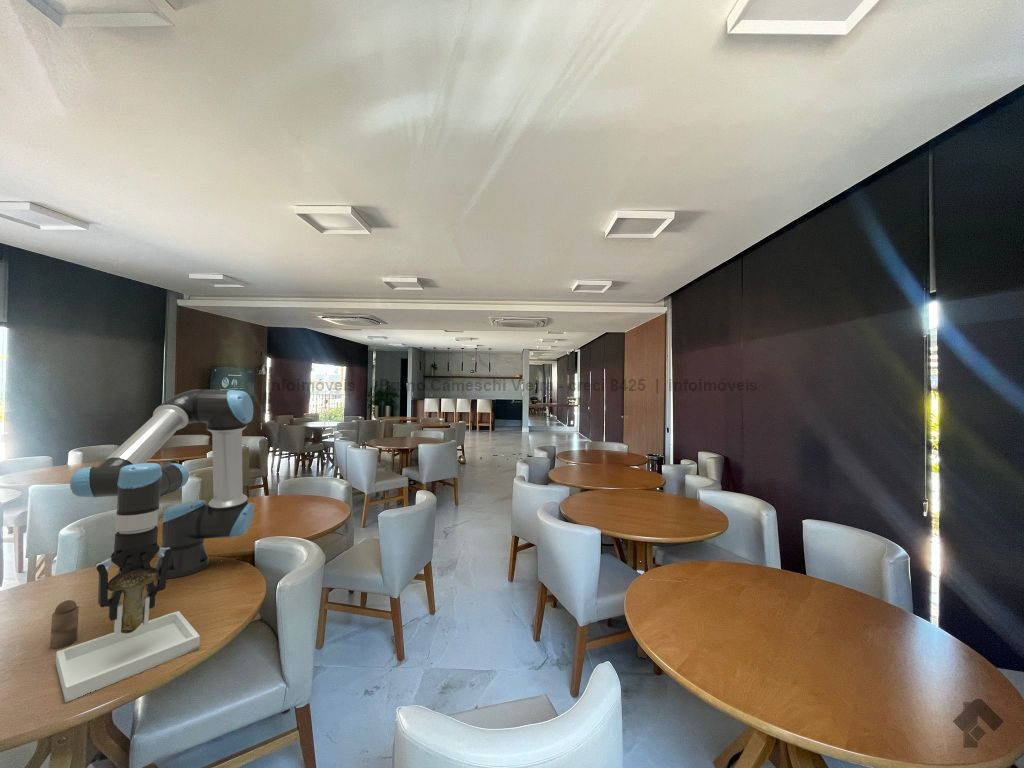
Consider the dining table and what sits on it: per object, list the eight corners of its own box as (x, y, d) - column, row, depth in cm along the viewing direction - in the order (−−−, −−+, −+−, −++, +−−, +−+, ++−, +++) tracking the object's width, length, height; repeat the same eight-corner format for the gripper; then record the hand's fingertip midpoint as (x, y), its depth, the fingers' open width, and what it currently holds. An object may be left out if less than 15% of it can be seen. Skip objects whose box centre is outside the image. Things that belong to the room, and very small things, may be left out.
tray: (178, 621, 107) (178, 610, 108) (199, 648, 97) (199, 635, 97) (55, 664, 90) (56, 651, 90) (65, 703, 79) (66, 687, 79)
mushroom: (115, 648, 87) (120, 579, 88) (93, 638, 90) (98, 573, 91) (165, 625, 96) (169, 563, 97) (143, 618, 99) (148, 558, 100)
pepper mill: (75, 635, 100) (78, 594, 101) (78, 642, 98) (80, 600, 98) (49, 644, 97) (51, 601, 97) (51, 651, 94) (53, 607, 95)
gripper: (177, 517, 103) (172, 607, 102) (82, 534, 90) (76, 638, 89) (186, 523, 99) (181, 617, 98) (87, 542, 85) (80, 651, 84)
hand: (131, 627), depth 93 cm, fingers closed on mushroom, 4 cm apart
